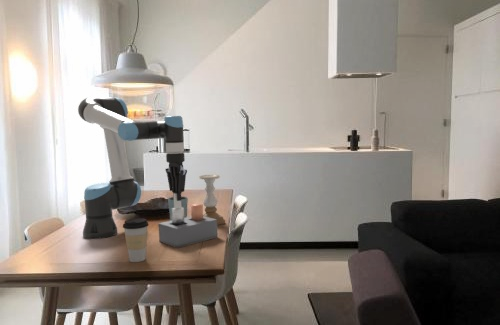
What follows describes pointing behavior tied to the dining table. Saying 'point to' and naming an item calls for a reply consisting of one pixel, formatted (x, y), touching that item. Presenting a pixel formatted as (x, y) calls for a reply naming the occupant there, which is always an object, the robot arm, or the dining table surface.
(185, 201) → the drinking glass
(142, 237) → the coffee cup
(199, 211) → the brown egg
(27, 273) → the dining table surface
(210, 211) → the candle holder
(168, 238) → the block with square holes
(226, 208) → the dining table surface
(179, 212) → the silver rounded piece
